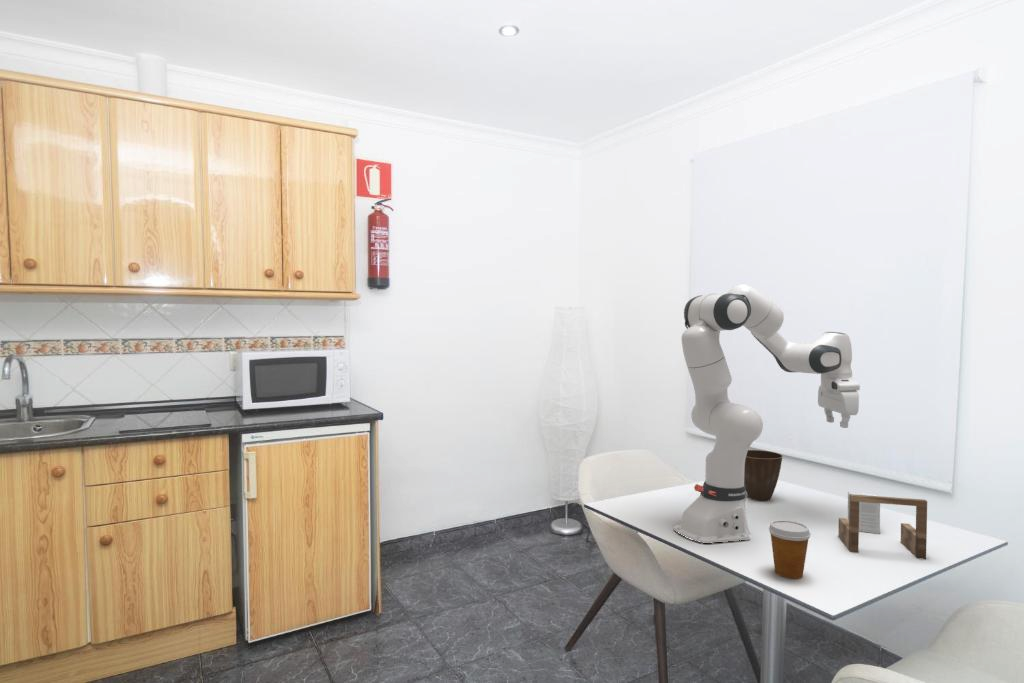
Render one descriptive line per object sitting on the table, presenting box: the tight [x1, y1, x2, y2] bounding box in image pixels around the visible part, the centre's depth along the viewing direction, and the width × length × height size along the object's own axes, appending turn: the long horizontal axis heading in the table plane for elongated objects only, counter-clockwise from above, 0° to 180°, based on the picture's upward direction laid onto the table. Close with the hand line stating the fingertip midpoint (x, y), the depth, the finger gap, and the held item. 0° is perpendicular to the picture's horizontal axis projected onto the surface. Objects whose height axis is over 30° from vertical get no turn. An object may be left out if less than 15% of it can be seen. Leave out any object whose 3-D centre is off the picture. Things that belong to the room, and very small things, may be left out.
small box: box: [847, 491, 881, 535], centre depth 176 cm, size 8×6×10 cm
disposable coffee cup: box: [767, 519, 812, 580], centre depth 144 cm, size 10×10×12 cm
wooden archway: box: [837, 494, 928, 560], centre depth 161 cm, size 12×18×16 cm, turn 74°
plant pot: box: [744, 449, 783, 502], centre depth 208 cm, size 15×15×16 cm
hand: (837, 424), depth 186 cm, fingers open, 8 cm apart
